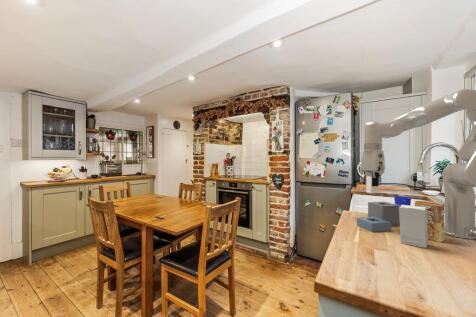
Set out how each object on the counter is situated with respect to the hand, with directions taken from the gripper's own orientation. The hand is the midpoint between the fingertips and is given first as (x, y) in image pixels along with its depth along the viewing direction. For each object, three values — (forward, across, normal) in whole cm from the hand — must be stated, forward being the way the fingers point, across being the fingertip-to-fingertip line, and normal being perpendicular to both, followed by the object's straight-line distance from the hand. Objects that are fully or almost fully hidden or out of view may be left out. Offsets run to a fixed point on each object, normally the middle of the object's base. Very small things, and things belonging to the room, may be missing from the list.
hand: (371, 185), depth 107 cm
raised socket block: (+21, +7, -13) cm, 25 cm away
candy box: (+21, -16, -14) cm, 30 cm away
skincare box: (+21, -20, -2) cm, 29 cm away
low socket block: (+21, 0, -1) cm, 21 cm away
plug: (+4, 0, 0) cm, 4 cm away
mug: (+21, +20, -38) cm, 47 cm away
